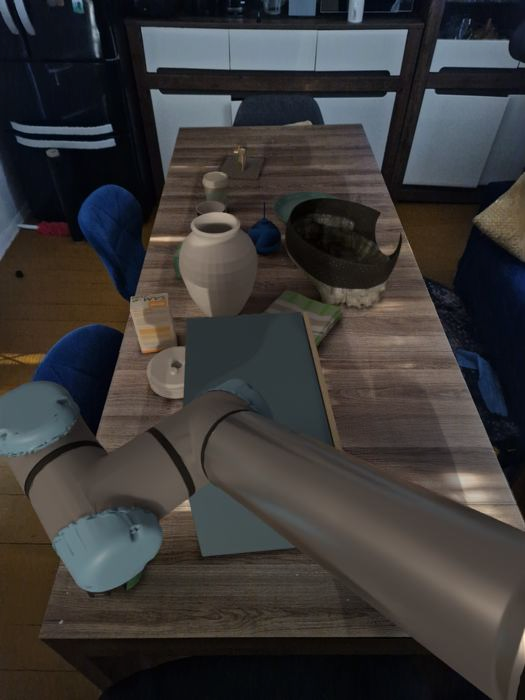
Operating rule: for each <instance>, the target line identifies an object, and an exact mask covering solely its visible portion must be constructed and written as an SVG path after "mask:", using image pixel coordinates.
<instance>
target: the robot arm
mask: <svg viewBox="0 0 525 700" xmlns="http://www.w3.org/2000/svg"><path fill="white" fill-rule="evenodd" d="M0 456H2V457H3V458H4V460H5V461H6V464H8V466H9V468H10V470H11V471H12V474H13V475H14V477H15V479H16V481H17V482H18V485H19V486H20V488H21V490H22V492H23V493H24V496H25V497H26V498H27V499H28V500H29V502H30V504H31V506H32V508H33V510H34V511H35V514H36V516H37V517H38V519H39V521H40V523H41V525H42V528H43V529H44V531H45V533H46V534H47V537H48V539H49V540H50V542H51V546H52V548H53V550H54V552H55V553H56V554H57V556H58V557H59V558H60V560H61V561H62V563H63V565H64V566H65V568H66V569H67V571H68V573H69V574H70V576H71V577H72V579H73V580H74V582H75V584H76V585H77V586H78V587H79V588H81V589H82V590H84V591H85V592H86V594H87V595H88V596H89V598H90V599H94V598H102V597H111V595H112V593H121V592H127V590H126V589H127V585H126V583H125V582H127V581H129V580H130V579H132V578H133V577H134V576H136V575H137V574H138V573H139V572H141V571H142V570H143V571H144V569H145V567H146V565H147V563H148V562H150V561H151V560H153V559H154V558H155V557H156V555H157V554H158V552H159V550H160V548H161V546H162V543H163V539H164V531H163V528H162V526H161V525H160V521H161V520H162V519H163V518H165V517H166V516H168V515H169V514H170V513H171V512H172V511H174V510H175V509H176V508H178V507H179V506H180V505H182V504H183V503H185V502H186V501H187V500H189V499H188V498H190V497H191V496H192V495H194V494H195V493H196V492H198V491H199V490H200V489H202V488H203V487H204V486H206V485H207V484H209V483H210V482H211V483H212V484H213V485H215V486H216V487H218V488H220V489H221V490H222V491H223V492H225V493H226V494H227V495H229V496H230V497H231V498H233V499H234V500H235V501H236V502H238V503H239V504H240V505H242V506H243V507H244V508H245V509H247V510H248V511H249V512H251V513H252V514H253V515H255V516H256V517H257V518H258V519H260V520H261V521H262V522H264V523H265V524H266V525H267V526H269V527H270V528H271V529H273V530H274V531H275V532H277V533H278V534H279V535H280V536H282V537H283V538H284V539H286V540H287V541H288V542H289V543H291V544H292V545H293V546H295V547H296V548H295V549H297V550H299V551H300V552H301V553H302V554H303V555H305V556H306V557H307V558H309V559H310V560H311V561H313V562H314V563H315V564H317V566H319V567H320V568H322V569H323V570H324V571H325V572H327V573H328V574H330V576H332V577H333V578H334V579H336V580H337V581H339V582H340V583H341V584H342V585H344V586H345V587H346V588H347V589H349V590H350V591H352V593H354V594H355V595H357V596H358V597H359V598H361V599H362V600H363V601H364V602H365V603H367V604H368V605H369V606H370V607H372V608H373V609H375V610H376V611H377V612H378V613H380V614H381V615H383V616H384V618H387V619H388V620H389V621H390V622H392V623H393V624H394V625H395V626H397V627H398V628H399V629H400V630H402V631H403V632H405V633H406V634H407V635H408V636H409V637H411V638H412V639H413V640H415V641H416V642H417V643H419V644H420V645H421V646H423V647H424V649H426V650H428V651H429V652H430V653H431V654H432V655H434V656H436V657H437V658H438V659H440V660H441V661H442V662H443V663H444V664H446V665H447V666H448V667H450V668H451V669H452V670H453V671H455V672H456V673H457V674H459V675H460V676H461V677H463V678H464V679H465V680H466V681H467V682H469V683H470V684H472V685H473V686H474V687H476V688H477V689H478V690H479V691H481V692H482V693H483V694H484V695H486V696H487V697H488V698H489V699H491V700H525V530H523V529H521V528H518V527H516V526H514V525H512V524H510V523H508V522H505V521H503V520H500V519H499V518H496V517H493V516H491V515H489V514H486V513H484V512H482V511H480V510H478V509H475V508H473V507H471V506H468V505H466V504H464V503H463V502H459V501H457V500H455V499H452V498H450V497H449V496H446V495H444V494H441V493H438V492H437V491H434V490H433V489H430V488H428V487H425V486H423V485H421V484H418V483H416V482H414V481H412V480H409V479H407V478H405V477H403V476H401V475H399V474H396V473H393V472H392V471H389V470H387V469H384V468H382V467H380V466H377V465H375V464H373V463H370V462H369V461H367V460H364V459H362V458H359V457H357V456H355V455H352V454H351V453H348V452H346V451H344V450H343V451H341V450H339V449H337V448H335V447H332V446H330V445H328V444H325V443H323V442H321V441H319V440H316V439H314V438H312V437H310V436H307V435H305V434H303V433H301V432H298V431H296V430H294V429H291V428H289V427H287V426H285V425H282V424H280V423H278V422H276V421H274V418H273V414H272V411H271V409H270V407H269V405H268V403H267V402H266V400H265V399H264V397H263V396H262V395H261V393H260V392H259V391H257V390H256V389H255V390H254V389H253V387H252V386H251V384H249V383H248V382H246V381H244V380H241V379H231V380H228V381H226V382H224V383H223V384H221V385H219V386H217V387H215V388H212V389H210V390H208V391H205V392H204V393H203V394H202V395H200V397H198V398H197V399H195V400H194V401H192V402H191V403H189V404H187V405H186V406H184V407H183V406H182V407H181V408H179V409H178V410H176V411H175V412H174V413H172V414H170V415H169V416H168V417H166V418H164V419H162V420H161V421H159V422H158V423H156V424H155V425H153V426H152V427H150V428H148V429H147V430H145V431H144V432H142V433H141V434H138V435H137V436H135V437H134V438H132V439H130V440H129V441H127V442H126V443H124V444H123V445H121V446H119V447H117V448H116V449H114V450H113V451H112V452H110V453H108V451H107V450H106V449H105V447H104V446H103V445H102V444H101V443H100V442H99V440H98V439H97V437H96V436H95V435H94V433H93V432H92V430H91V429H90V428H89V426H88V425H87V423H86V422H85V420H84V418H83V417H82V415H81V408H80V407H79V405H78V403H77V402H76V401H74V399H73V397H72V395H71V394H70V392H69V391H68V389H66V388H65V387H64V386H63V385H61V384H59V383H57V382H55V381H50V380H49V381H48V380H35V381H30V382H26V383H23V384H20V385H19V386H18V387H14V388H13V389H12V390H8V391H6V392H5V393H4V394H3V395H1V396H0Z"/></svg>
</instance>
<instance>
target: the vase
mask: <svg viewBox="0 0 525 700" xmlns="http://www.w3.org/2000/svg"><path fill="white" fill-rule="evenodd" d="M240 227H241V220H240V219H239V218H238V217H237V216H235V215H234V214H231V213H228V212H226V213H222V212H213V213H207V214H203V215H200V216H198V217H197V216H196V217H194V219H192V221H191V222H190V229H191V230H192V231H191V232H190V233H188V235H187V236H186V237H185V238H184V239H183V241H182V242H183V244H182V247H181V249H180V252H179V268H180V273H181V276H182V278H181V279H182V281H183V283H184V284H185V287H186V290H187V292H188V294H189V296H190V298H191V299H192V300H193V301H194V303H195V304H196V306H197V308H199V310H201V312H202V313H203V314H204V315H205V316H206V317H219V316H236V315H240V313H241V311H242V310H243V309H244V307H245V305H246V304H247V302H248V300H249V299H250V296H251V294H252V292H253V289H254V285H255V281H256V278H257V275H258V268H259V258H258V254H257V253H256V248H255V246H254V244H253V242H252V240H251V238H250V237H249V236H248V233H246V232H245V231H244V230H243V229H241V228H240Z"/></svg>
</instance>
